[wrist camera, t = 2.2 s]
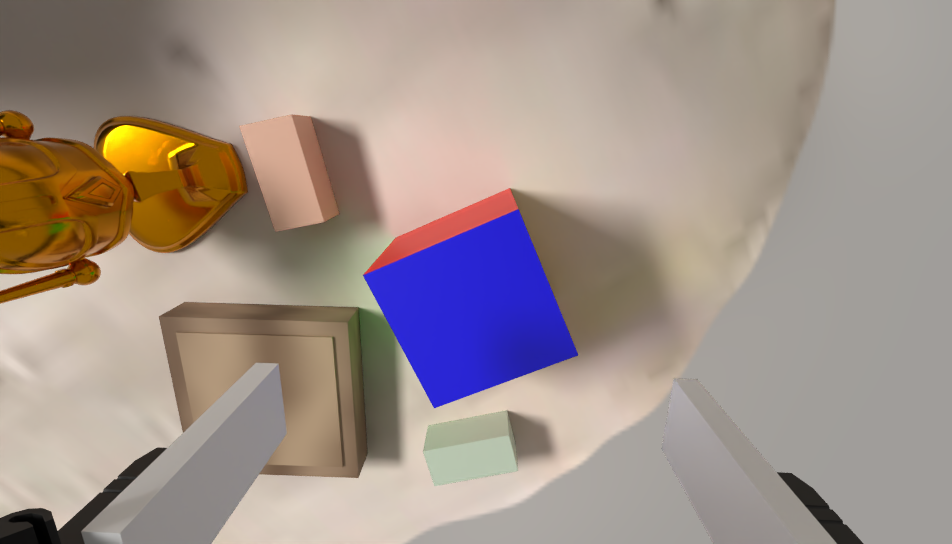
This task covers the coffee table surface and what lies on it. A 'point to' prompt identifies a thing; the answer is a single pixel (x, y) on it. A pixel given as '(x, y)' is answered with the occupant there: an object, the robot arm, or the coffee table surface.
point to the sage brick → (470, 448)
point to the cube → (470, 301)
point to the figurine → (106, 195)
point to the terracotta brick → (290, 171)
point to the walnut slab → (301, 373)
